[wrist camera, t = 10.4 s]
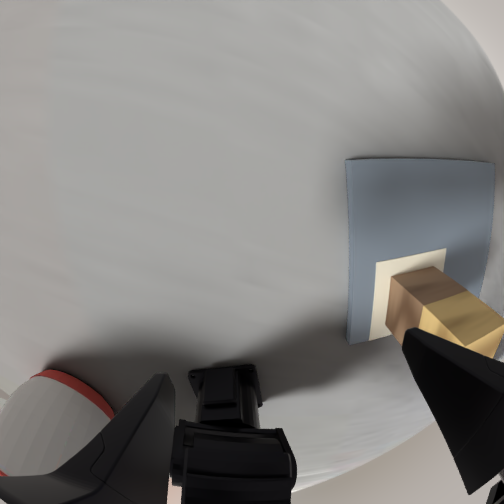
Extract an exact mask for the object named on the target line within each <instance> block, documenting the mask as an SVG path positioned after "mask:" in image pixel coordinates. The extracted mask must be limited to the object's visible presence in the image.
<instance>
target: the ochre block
mask: <svg viewBox="0 0 504 504" xmlns="http://www.w3.org/2000/svg"><path fill="white" fill-rule="evenodd" d="M419 329H422V330H424V331H426V332H429V333H431V334H434V335H436V336H438V337H441V338H443V339H446V340H448V341H451V342H453V343H455V344H458V345H460V346H463V347H465V348H468V349H470V350H472V351H475V352H477V353H480V354H482V355H484V356H487V357H490V358H492V359H493V356H494V354H495V352H496V350H497V348H498V345H499V343H500V341H501V338H502V336H503V333H504V318H502V317H501V316H500V315H499V314H498V313H496V312H495V311H494V310H493V309H491V308H490V307H489V306H487V305H486V304H485V303H484V302H482V301H481V300H480V299H478V298H477V297H476V296H474V295H473V294H472V293H470V292H469V291H465V292H462V293H459V294H457V295H454V296H451V297H448V298H445V299H442V300H439V301H436V302H433V303H430V304H427V305H424V306H423V310H422V315H421V319H420V324H419Z"/></svg>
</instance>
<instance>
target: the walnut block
mask: <svg viewBox="0 0 504 504" xmlns="http://www.w3.org/2000/svg"><path fill="white" fill-rule="evenodd" d="M465 291H468V290H467V289H466V288H464V287H463V286H462V285H460V284H459V283H457V282H456V281H455V280H453V279H452V278H450V277H449V276H447V275H446V274H445V273H443V272H442V271H440V270H439V269H437V268H436V267H434V266H432V267H428V268H424V269H420V270H416V271H411V272H407V273H403V274H398V275H394V276H391V280H390V290H389V298H388V306H387V314H386V320H385V325H386V327H387V328H388V329H389V330H390V332H391V333H392V334H393V335H394V337H395V338H396V339H397V341H398V342H399V343H400V344H401V346H402V343H403V338H404V334H405V331H406V330H407V329H409V328H412V327H417V328H419V324H420V319H421V315H422V310H423V306H424V305H427V304H430V303H433V302H436V301H439V300H442V299H445V298H448V297H451V296H454V295H457V294H459V293H462V292H465Z"/></svg>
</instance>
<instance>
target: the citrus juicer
mask: <svg viewBox="0 0 504 504" xmlns="http://www.w3.org/2000/svg"><path fill="white" fill-rule="evenodd" d="M114 416H115V415H114V413H113V410H112V409H111V407H110V406H109V404H108V403H107V402H106V401H105V400H104V398H103V397H102V396H101V395H100V394H98V393H97V392H96V391H94V390H93V389H92V388H90V387H89V386H88V385H86V384H85V383H83V382H82V381H80V380H78V379H76V378H75V377H73V376H71V375H68V374H66V373H64V372H60V371H57V370H45V371H43V372H41V373H38V374H36V375H34V376H32V377H31V378H30V379H29V380H28V381H26V382H25V383H24V384H22V385H21V386H20V387H19V388H18V389H17V390H16V391H15V392H13V393H12V395H11V396H10V397H9V399H8V400H7V401H6V403H5V404H4V406H3V407H2V409H1V411H0V476H31V475H43V474H48V473H51V472H53V471H55V470H56V469H58V468H59V467H60V466H61V465H63V464H64V463H65V462H66V461H68V460H69V459H70V458H71V457H73V456H74V455H75V454H76V453H78V452H79V451H80V450H81V449H82V448H83V447H85V446H86V445H87V444H88V443H89V442H90V441H91V440H92V439H93V438H94V437H95V436H96V435H97V434H98V433H99V432H101V430H102V429H103V428H104V427H105V426H106V425H107V424H108V423H109V422H110V421H111V420H112V418H113V417H114Z"/></svg>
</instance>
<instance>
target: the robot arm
mask: <svg viewBox="0 0 504 504" xmlns="http://www.w3.org/2000/svg"><path fill="white" fill-rule="evenodd" d="M402 351H403V353H404V356H405V358H406V360H407V363H408V365H409V367H410V370H411V372H412V375H413V377H414V379H415V381H416V383H417V385H418V387H419V389H420V391H421V393H422V394H423V396H424V398H425V400H426V402H427V404H428V406H429V408H430V410H431V412H432V414H433V416H434V418H435V420H436V421H437V423H438V426H439V428H440V430H441V432H442V434H443V436H444V438H445V440H446V442H447V445H448V447H449V449H450V451H451V453H452V456H453V457H454V461H455V463H456V465H457V467H458V470H459V473H460V475H461V478H462V480H463V482H464V485H465V488H466V490H467V493H468V495H471V494H472V493H473V492H475V491H476V490H478V489H479V488H480V487H482V486H483V485H484V484H486V483H487V482H488V481H489V480H491V479H492V478H493V477H494V476H496V475H497V474H499V476H500V477H501V480H500V481H499V482H497V484H495V485H494V486H493V487H492V488H491V490H490V493H489V496H488V499H487V502H486V504H504V363H503V362H500V361H497V360H495V359H492V358H490V357H487V356H484V355H482V354H480V353H477V352H475V351H472V350H470V349H468V348H465V347H463V346H460V345H458V344H455V343H453V342H451V341H448V340H446V339H443V338H441V337H438V336H436V335H434V334H431V333H429V332H426V331H424V330H422V329H419V328H417V327H412V328H409V329H407V330H406V331H405V334H404V338H403V343H402ZM249 369H252V370H249ZM192 375H194V376H192ZM188 378H189V381H190V383H191V386H192V388H193V390H194V393H195V395H196V397H197V409H196V419H195V422H188V421H186V420H182V419H180V420H179V426H176V427H175V389H174V386H173V384H172V382H171V380H170V378H169V376H168V374H167V373H156V374H154V375H153V376H152V378H151V379H150V380H149V381H148V382H147V383H146V384H145V385H144V386H143V387H142V388H141V389H140V390H139V391H138V392H137V393H136V394H135V395H134V397H133V398H132V399H131V400H130V401H129V402H128V403H127V404H126V405H125V406H124V407H123V408H122V409H121V410H120V411H119V412H118V413H117V414H116V415H115V416H114V417H113V418H112V420H111V421H110V422H109V423H108V424H107V425H106V426H105V427H104V428H103V429H102V430H101V432H99V433H98V434H97V435H96V436H95V437H94V438H93V439H92V440H91V441H90V442H89V443H88V444H87V445H86V446H85V447H83V448H82V449H81V450H80V451H79V452H78V453H76V454H75V455H74V456H73V457H71V458H70V459H69V460H68V461H66V462H65V463H64V464H63V465H61V466H60V467H59V468H58V469H56V470H55V471H53V472H51V473H48V474H43V475H31V476H0V499H2V500H3V501H4V502H6V503H7V504H167V494H168V482H169V473H170V477H172V485H173V486H181V487H182V496H181V504H291V502H290V501H291V500H290V499H291V490H292V489H293V487H294V485H295V482H296V478H297V464H296V460H295V457H294V454H293V452H292V450H291V448H290V445H289V443H288V441H287V439H286V436H285V434H284V432H283V429H282V428H275V429H260V423H259V414H258V408H259V407H262V405H263V403H262V397H261V392H260V387H259V381H258V376H257V370H256V366H255V365H252V364H249V365H242V366H234V367H225V368H215V369H204V370H192V371H189V373H188ZM174 427H175V428H174Z"/></svg>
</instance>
